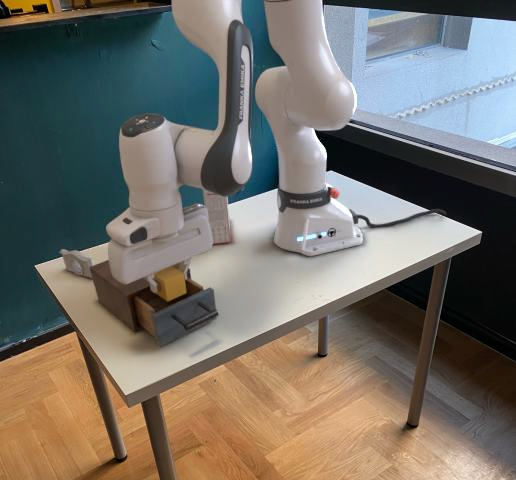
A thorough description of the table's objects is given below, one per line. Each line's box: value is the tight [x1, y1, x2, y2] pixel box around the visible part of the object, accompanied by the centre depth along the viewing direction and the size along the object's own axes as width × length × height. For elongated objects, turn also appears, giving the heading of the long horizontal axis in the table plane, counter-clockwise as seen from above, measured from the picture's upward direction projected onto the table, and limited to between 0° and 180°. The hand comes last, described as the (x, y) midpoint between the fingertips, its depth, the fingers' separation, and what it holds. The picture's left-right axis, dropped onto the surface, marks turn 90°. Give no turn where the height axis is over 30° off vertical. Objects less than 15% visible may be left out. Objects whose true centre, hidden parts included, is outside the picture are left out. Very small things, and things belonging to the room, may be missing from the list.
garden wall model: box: [59, 249, 93, 279], centre depth 119 cm, size 12×2×6 cm, turn 58°
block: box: [152, 266, 187, 302], centre depth 97 cm, size 4×4×4 cm
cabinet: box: [89, 259, 192, 333], centre depth 108 cm, size 16×15×9 cm
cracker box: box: [202, 189, 232, 245], centre depth 130 cm, size 14×6×21 cm, turn 5°
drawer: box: [131, 277, 220, 347], centre depth 101 cm, size 20×13×7 cm
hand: (169, 285), depth 98 cm, fingers closed on block, 4 cm apart
